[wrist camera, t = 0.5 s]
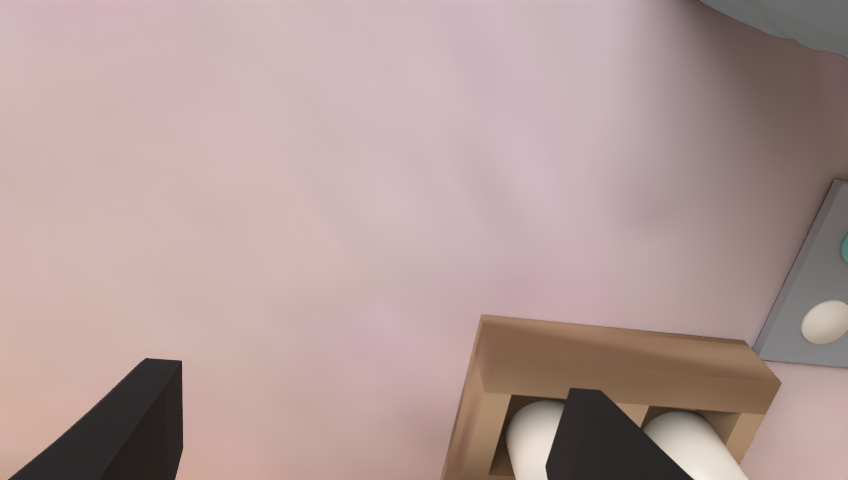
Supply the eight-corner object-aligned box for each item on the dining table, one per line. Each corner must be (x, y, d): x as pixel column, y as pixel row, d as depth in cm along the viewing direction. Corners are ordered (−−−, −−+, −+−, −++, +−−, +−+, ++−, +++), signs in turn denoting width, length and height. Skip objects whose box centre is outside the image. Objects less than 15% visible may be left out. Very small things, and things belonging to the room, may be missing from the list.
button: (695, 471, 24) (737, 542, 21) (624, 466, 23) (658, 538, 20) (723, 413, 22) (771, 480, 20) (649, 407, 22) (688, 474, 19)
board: (641, 558, 29) (664, 609, 27) (423, 549, 27) (428, 603, 25) (744, 340, 24) (781, 382, 21) (481, 314, 22) (494, 357, 20)
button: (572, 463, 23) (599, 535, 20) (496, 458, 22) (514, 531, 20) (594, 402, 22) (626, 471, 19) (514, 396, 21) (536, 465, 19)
